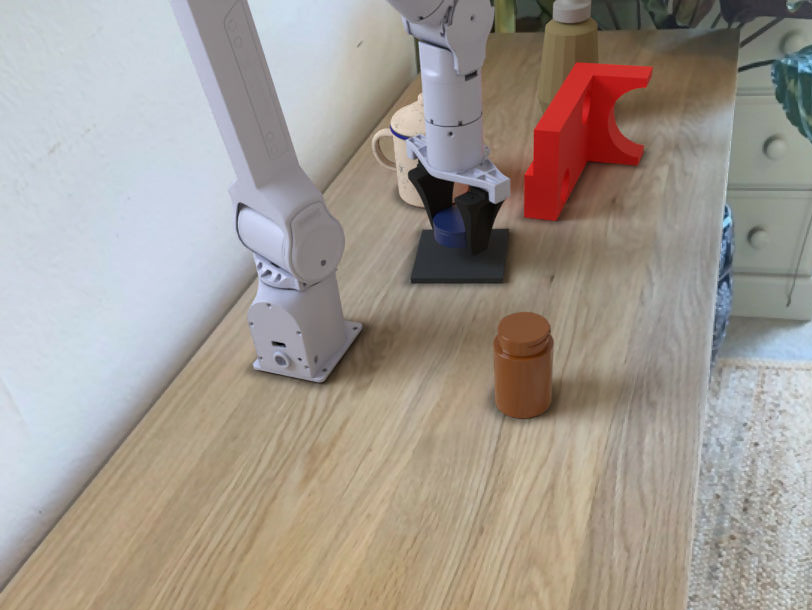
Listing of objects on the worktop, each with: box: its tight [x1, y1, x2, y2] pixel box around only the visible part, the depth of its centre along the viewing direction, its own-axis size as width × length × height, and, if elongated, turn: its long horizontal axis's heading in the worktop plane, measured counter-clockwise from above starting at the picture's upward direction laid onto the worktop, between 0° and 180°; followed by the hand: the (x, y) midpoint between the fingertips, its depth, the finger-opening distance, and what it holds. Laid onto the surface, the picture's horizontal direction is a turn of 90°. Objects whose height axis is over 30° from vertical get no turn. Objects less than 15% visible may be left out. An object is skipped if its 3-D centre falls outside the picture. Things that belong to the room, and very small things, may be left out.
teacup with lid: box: [371, 91, 470, 209], centre depth 102 cm, size 12×9×12 cm
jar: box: [492, 311, 555, 419], centre depth 76 cm, size 5×5×8 cm
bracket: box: [523, 62, 654, 222], centre depth 100 cm, size 18×10×10 cm
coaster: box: [410, 228, 510, 284], centre depth 95 cm, size 10×10×1 cm
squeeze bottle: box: [537, 0, 599, 115], centre depth 108 cm, size 8×8×18 cm
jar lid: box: [433, 205, 467, 248], centre depth 93 cm, size 6×6×2 cm
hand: (460, 240), depth 94 cm, fingers closed on jar lid, 6 cm apart
